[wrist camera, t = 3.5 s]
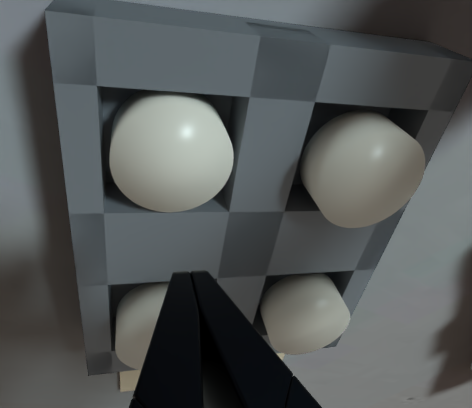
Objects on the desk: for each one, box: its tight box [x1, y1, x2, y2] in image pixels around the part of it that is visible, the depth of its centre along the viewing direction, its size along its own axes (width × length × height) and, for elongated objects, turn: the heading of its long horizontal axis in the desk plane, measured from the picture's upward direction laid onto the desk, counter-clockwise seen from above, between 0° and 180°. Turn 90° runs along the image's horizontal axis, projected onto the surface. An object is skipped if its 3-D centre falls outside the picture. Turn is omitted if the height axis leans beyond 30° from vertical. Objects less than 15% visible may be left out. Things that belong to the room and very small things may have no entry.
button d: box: [115, 281, 170, 370], centre depth 19 cm, size 4×4×2 cm
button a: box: [300, 110, 425, 228], centre depth 16 cm, size 4×4×2 cm
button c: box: [260, 273, 350, 355], centre depth 21 cm, size 4×4×2 cm
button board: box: [45, 0, 472, 376], centre depth 19 cm, size 15×18×3 cm
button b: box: [109, 89, 234, 212], centre depth 14 cm, size 4×4×2 cm
